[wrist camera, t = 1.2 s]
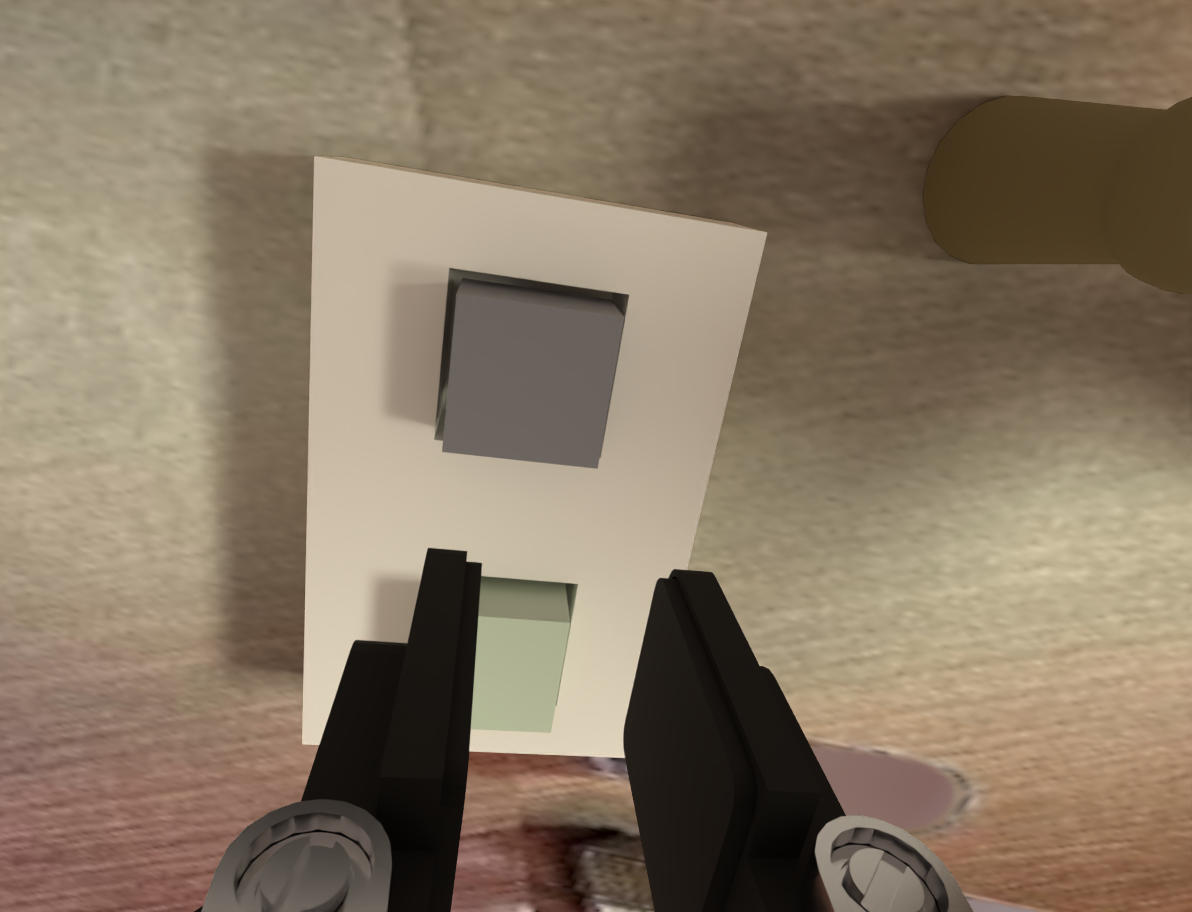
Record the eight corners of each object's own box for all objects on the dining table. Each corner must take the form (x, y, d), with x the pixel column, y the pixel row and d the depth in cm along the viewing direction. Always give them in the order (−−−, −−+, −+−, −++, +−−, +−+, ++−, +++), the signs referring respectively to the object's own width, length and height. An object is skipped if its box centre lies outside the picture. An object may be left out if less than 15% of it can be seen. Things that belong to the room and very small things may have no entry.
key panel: (732, 222, 27) (767, 232, 23) (628, 695, 35) (642, 758, 31) (343, 156, 25) (314, 155, 21) (325, 678, 33) (302, 744, 29)
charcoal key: (611, 299, 25) (624, 317, 22) (588, 436, 26) (597, 468, 24) (462, 277, 24) (456, 293, 21) (449, 420, 26) (441, 451, 23)
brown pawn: (891, 218, 28) (1113, 251, 17) (991, 61, 26) (1300, -3, 16) (1006, 291, 29) (1269, 360, 19) (1106, 148, 27) (1454, 141, 17)
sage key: (564, 578, 28) (570, 622, 26) (547, 680, 30) (550, 732, 27) (435, 567, 28) (427, 612, 25) (425, 673, 29) (416, 726, 27)
